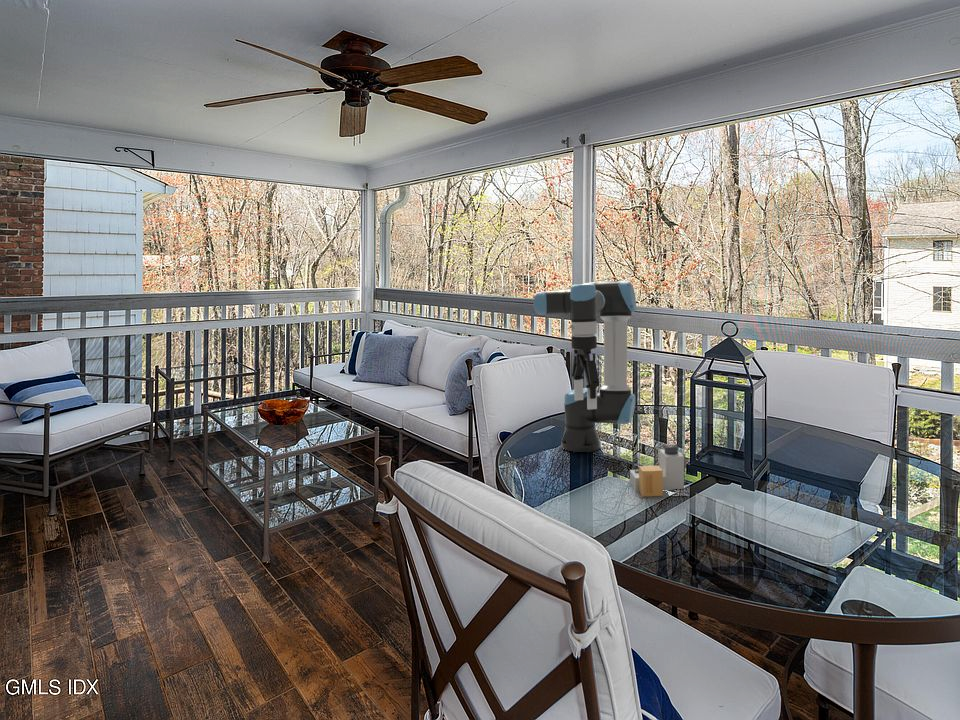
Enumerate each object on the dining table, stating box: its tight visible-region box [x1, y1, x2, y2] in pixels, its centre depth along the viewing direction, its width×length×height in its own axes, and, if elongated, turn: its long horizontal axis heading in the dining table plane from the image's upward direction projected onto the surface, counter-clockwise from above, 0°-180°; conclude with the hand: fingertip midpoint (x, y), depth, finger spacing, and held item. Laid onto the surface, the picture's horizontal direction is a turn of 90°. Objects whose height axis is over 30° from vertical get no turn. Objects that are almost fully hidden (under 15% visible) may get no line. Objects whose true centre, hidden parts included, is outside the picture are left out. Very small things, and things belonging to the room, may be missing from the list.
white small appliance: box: [629, 444, 685, 499], centre depth 178 cm, size 15×12×13 cm
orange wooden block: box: [638, 465, 663, 497], centre depth 174 cm, size 6×5×8 cm
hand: (585, 404), depth 175 cm, fingers open, 13 cm apart
